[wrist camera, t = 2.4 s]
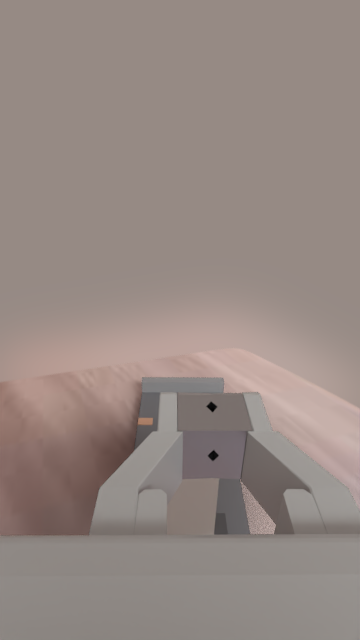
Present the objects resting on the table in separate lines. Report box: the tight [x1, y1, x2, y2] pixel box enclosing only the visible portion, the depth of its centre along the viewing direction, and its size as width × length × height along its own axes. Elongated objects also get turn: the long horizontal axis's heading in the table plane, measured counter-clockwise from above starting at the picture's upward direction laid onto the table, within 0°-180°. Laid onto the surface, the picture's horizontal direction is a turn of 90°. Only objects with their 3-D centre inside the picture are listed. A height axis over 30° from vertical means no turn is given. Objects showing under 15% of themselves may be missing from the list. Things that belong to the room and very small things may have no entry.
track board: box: [134, 377, 250, 535], centre depth 31 cm, size 26×10×4 cm, turn 1°
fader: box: [167, 478, 228, 535], centre depth 22 cm, size 5×6×11 cm
